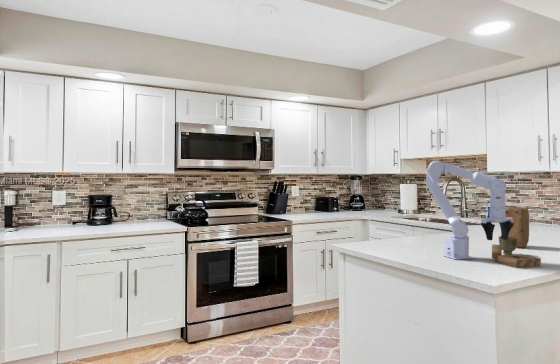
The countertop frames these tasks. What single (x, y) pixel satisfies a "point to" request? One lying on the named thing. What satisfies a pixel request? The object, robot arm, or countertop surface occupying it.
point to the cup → (508, 245)
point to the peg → (496, 251)
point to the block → (519, 225)
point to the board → (519, 260)
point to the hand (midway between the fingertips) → (497, 239)
